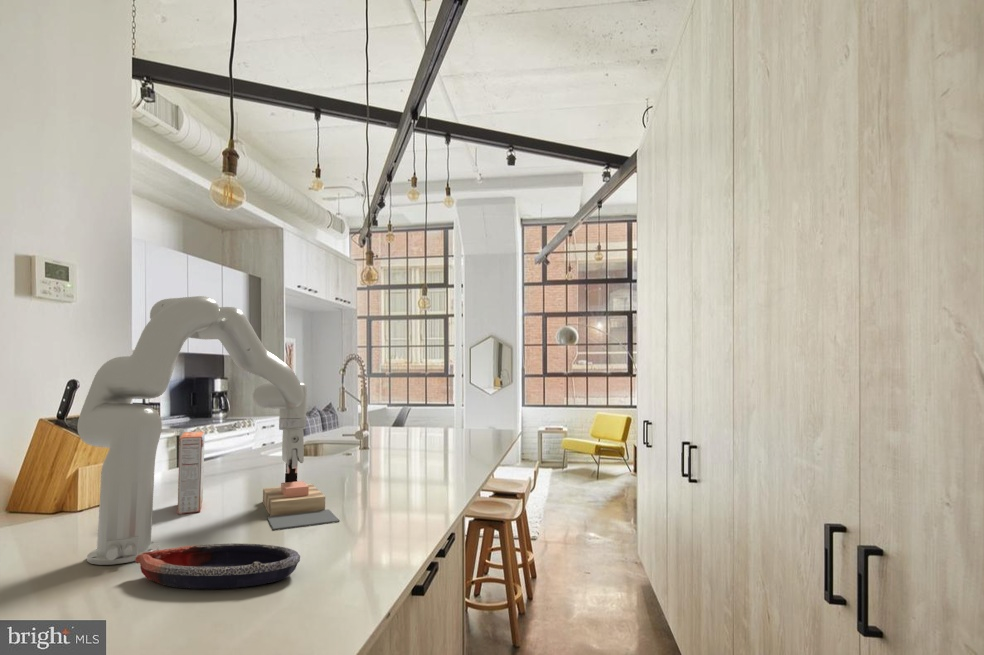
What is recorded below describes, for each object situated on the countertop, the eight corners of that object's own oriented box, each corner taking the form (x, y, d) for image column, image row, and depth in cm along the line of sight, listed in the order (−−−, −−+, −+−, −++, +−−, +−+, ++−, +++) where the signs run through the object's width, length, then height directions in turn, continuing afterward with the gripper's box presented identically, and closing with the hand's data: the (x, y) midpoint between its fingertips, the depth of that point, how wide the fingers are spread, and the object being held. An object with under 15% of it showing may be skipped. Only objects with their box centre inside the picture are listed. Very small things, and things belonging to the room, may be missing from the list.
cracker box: (179, 503, 162) (183, 431, 164) (203, 501, 164) (206, 430, 166) (175, 515, 149) (178, 436, 151) (200, 512, 152) (203, 435, 153)
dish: (277, 597, 95) (278, 567, 95) (110, 592, 97) (111, 562, 98) (314, 566, 110) (314, 540, 111) (168, 562, 113) (169, 537, 113)
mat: (339, 521, 142) (339, 520, 142) (273, 530, 135) (273, 528, 135) (328, 510, 154) (328, 509, 154) (267, 517, 146) (267, 516, 146)
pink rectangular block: (308, 495, 155) (308, 486, 155) (285, 497, 152) (286, 488, 152) (302, 489, 163) (302, 480, 163) (280, 491, 160) (281, 482, 160)
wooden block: (325, 511, 153) (325, 496, 154) (271, 517, 147) (271, 502, 147) (311, 496, 171) (311, 483, 171) (262, 501, 164) (263, 488, 164)
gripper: (310, 425, 160) (308, 490, 158) (301, 421, 173) (299, 481, 172) (282, 426, 156) (281, 493, 155) (275, 422, 169) (273, 483, 168)
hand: (290, 486), depth 163 cm, fingers closed
